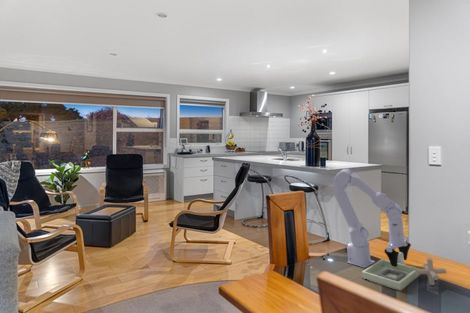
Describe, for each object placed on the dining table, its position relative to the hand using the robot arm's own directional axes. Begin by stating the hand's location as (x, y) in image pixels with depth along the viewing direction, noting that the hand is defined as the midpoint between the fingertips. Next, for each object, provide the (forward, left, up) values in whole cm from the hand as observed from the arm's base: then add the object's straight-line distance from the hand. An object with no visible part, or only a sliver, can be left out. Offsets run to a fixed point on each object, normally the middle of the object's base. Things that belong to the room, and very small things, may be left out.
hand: (399, 262), depth 141 cm
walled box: (+2, -11, -2) cm, 11 cm away
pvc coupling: (0, 0, -2) cm, 2 cm away
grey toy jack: (+16, -7, -2) cm, 17 cm away
